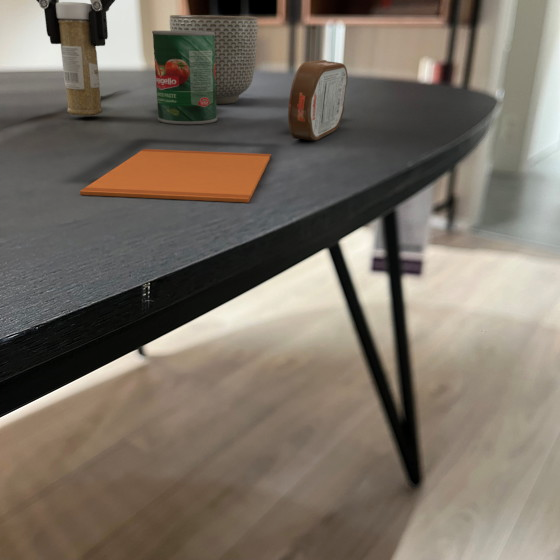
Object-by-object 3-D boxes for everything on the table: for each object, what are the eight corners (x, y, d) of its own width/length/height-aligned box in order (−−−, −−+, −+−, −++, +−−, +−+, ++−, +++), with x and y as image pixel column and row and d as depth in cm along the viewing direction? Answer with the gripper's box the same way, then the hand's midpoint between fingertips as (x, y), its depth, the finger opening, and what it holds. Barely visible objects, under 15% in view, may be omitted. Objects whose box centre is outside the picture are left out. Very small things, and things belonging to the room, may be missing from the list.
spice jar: (109, 114, 77) (100, 3, 71) (77, 117, 74) (65, 1, 68) (92, 110, 80) (82, 3, 74) (60, 112, 77) (48, 1, 71)
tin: (325, 125, 76) (328, 57, 72) (348, 127, 75) (352, 58, 71) (284, 145, 63) (286, 63, 59) (311, 148, 62) (315, 65, 58)
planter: (161, 104, 90) (155, 14, 85) (189, 95, 103) (185, 15, 97) (246, 109, 88) (246, 16, 83) (264, 98, 101) (265, 17, 95)
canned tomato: (226, 117, 80) (224, 31, 75) (202, 126, 73) (198, 32, 68) (174, 114, 82) (170, 30, 77) (146, 122, 75) (140, 30, 70)
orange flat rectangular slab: (80, 194, 44) (79, 190, 43) (143, 151, 58) (143, 148, 58) (248, 202, 43) (248, 198, 42) (270, 157, 57) (270, 153, 57)
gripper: (144, -117, 69) (151, 47, 76) (8, -120, 70) (29, 41, 77) (123, -133, 62) (133, 48, 69) (-27, -137, 63) (-1, 42, 70)
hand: (78, 43), depth 73 cm, fingers closed on spice jar, 4 cm apart
